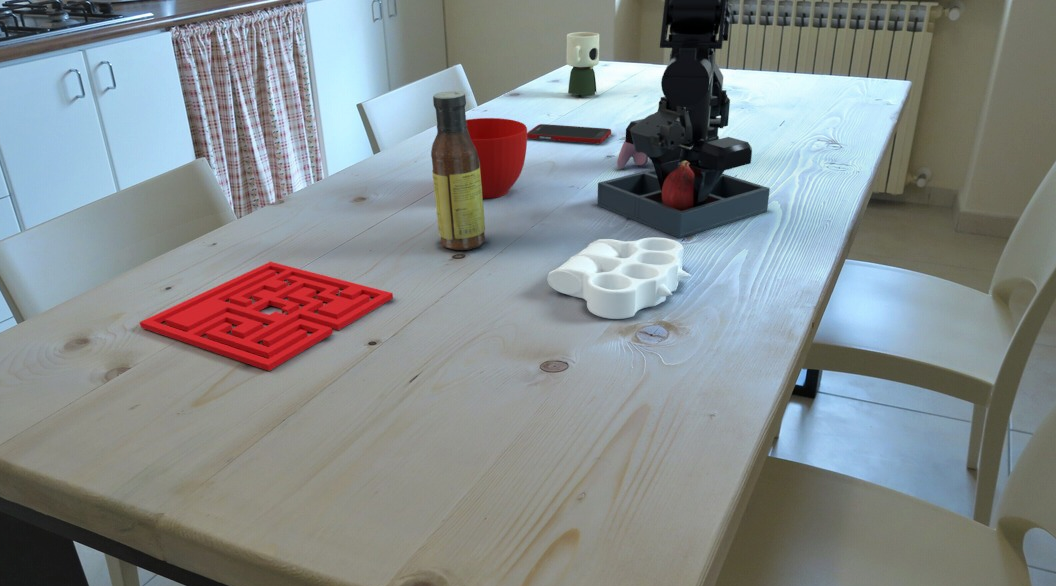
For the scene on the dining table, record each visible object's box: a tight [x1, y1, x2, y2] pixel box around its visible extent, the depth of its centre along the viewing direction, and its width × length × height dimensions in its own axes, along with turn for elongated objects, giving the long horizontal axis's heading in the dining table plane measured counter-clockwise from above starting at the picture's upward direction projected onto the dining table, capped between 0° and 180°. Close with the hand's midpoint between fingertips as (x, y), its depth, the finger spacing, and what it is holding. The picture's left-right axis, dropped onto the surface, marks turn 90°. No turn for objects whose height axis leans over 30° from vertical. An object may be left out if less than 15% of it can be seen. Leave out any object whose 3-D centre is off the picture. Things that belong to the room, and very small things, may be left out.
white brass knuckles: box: [546, 237, 692, 320], centre depth 105 cm, size 3×18×15 cm
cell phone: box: [527, 123, 612, 145], centre depth 166 cm, size 8×15×1 cm, turn 69°
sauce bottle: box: [430, 90, 486, 251], centre depth 115 cm, size 7×6×20 cm
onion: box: [662, 160, 694, 211], centre depth 123 cm, size 6×6×8 cm
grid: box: [596, 162, 771, 239], centre depth 129 cm, size 17×17×4 cm
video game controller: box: [616, 138, 653, 170], centre depth 147 cm, size 10×5×7 cm, turn 65°
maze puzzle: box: [139, 261, 394, 372], centre depth 101 cm, size 20×20×1 cm
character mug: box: [566, 31, 600, 98], centre depth 194 cm, size 11×7×13 cm, turn 159°
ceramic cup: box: [466, 117, 528, 199], centre depth 135 cm, size 13×17×10 cm
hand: (681, 203), depth 124 cm, fingers closed on onion, 6 cm apart
